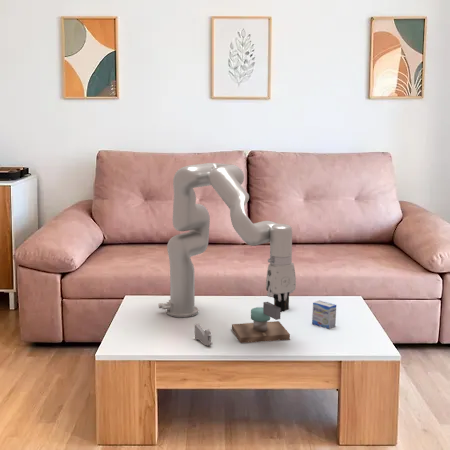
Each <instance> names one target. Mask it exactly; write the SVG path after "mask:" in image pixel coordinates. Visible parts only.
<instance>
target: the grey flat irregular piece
mask: <svg viewBox="0 0 450 450" xmlns="http://www.w3.org/2000/svg"><path fill="white" fill-rule="evenodd" d="M194 339H195V340H196V341H197V340H199V341H200V343H201V344H203V345H204V346H205V347H208V346H212V345H213V342H212V331H211V330H210V329H209V328H208V329H204V328H203V327H202V326H201V325H200V323H195V324H194Z"/></svg>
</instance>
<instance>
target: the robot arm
mask: <svg viewBox="0 0 450 450" xmlns="http://www.w3.org/2000/svg"><path fill="white" fill-rule="evenodd" d="M244 180H245V174H244V171H243V170H242V169H241V167H239V166H238V165H236V164H228V163H218V162H217V163H216V162H207V163H197V164H190V165H186V166H183V167H180V168H179V169H177V170H176V172H175V174H174V175H173V180H172V181H173V182H172V186H173V188H172V189H173V200H172V203H173V204H172V225H173V228H174V229H175V230H176V231H178V232H182V233H178V234H175V235H174V236H172V237H170V239H169V240H168V242H167V244H166V249H167V254H168V260H169V275H170V276H169V282H170V283H169V284H170V287H169V291H170V294H169V295H170V299H168V302H167V301H166V303H158V309H161V310H165V311H166V314H167V315H168V316H170V317H172V318H173V317H175V318H189V317H194V316H197V315H198V313H199V308H198V307H196V306H195V281H196V280H195V266H194V264H193V261H192V259H191V257H195V256H198V255H200V254H201V255H202V254H203V253H205V252H206V250H207V248H208V246H209V239H210V236H209V235H210V225H211V224H210V223H211V222H210V221H211V219H210V211H208V209H207V207H206V206H205V205H204V204H200V203H197V195H196V191H195V188H202V187H209V186H211V187H212V188H213V189H214V191H215V192H216V193H217V195H218V196H219V197H220V198H221V199H222V201H223V202H224V204H225V205H226V206H227V208H228V209H229V217H230V222H231V225H232V227H233V229H234V231H235V232H236V233H237V235H238V236H239V237H240V238H241V240H242V241H243V242H244V243H246V244H247V245H248V246H252V247H254V246H260V245H263V244H265V243H266V244H267V243H269V258H268V259H267V263H269V264H268V267H267V271H266V282H265V283H266V284H265V289H266V291H267V293H266V296H267V297H269V298H273V300H274V299H275V300H276V303H275V305H276V306H278V307H280V308H281V313H283V312H285V311H286V310H285V300H286V299H287V296H288V295H289V296H290V294H293V293H294V291H296V289H297V288H296V287H297V281H296V279H297V276H296V268H295V264H294V262H292V261H293V255H292V254H293V227H292V225H289V224H286V223H277V222H274V221H272V220H262V221H259V222H254V223H253V222H252V220H251V219H250V218H249V217H248V215H247V213H246V212H245V206H246V205H247V203H248V201H249V199H250V194H249V193H248V192H247V191H246V189H245V188H244V187H243V186H242V185H243V183H244Z"/></svg>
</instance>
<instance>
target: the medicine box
mask: <svg viewBox="0 0 450 450" xmlns="http://www.w3.org/2000/svg"><path fill="white" fill-rule="evenodd" d="M311 316H312V317H311V323H312V325H314V326H317V327H321V328H324V329H328V330H330V329H333V328H335V327H336V318H337V304H335V303H331V302H327V301H323V300H315V301H313V302H312V315H311Z"/></svg>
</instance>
